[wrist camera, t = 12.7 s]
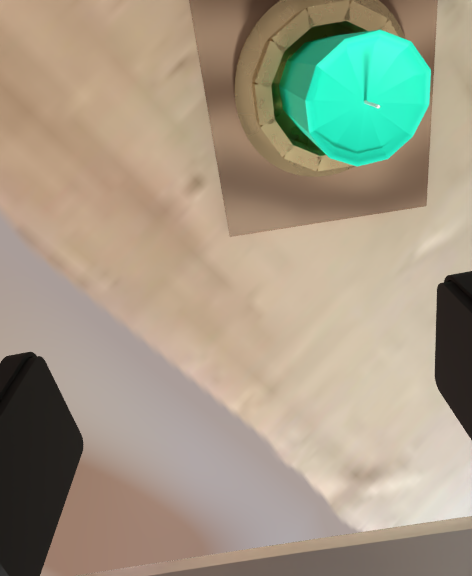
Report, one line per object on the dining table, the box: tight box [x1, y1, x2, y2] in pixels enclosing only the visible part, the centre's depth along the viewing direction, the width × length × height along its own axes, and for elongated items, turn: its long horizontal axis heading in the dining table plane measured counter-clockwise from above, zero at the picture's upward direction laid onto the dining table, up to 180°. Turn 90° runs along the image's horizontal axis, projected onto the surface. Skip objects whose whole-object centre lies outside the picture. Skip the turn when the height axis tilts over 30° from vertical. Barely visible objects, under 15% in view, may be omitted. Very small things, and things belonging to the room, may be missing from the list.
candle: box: [279, 30, 431, 167], centre depth 25 cm, size 6×6×12 cm
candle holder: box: [234, 0, 405, 177], centre depth 29 cm, size 12×12×4 cm
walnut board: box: [189, 0, 438, 237], centre depth 32 cm, size 20×16×2 cm
